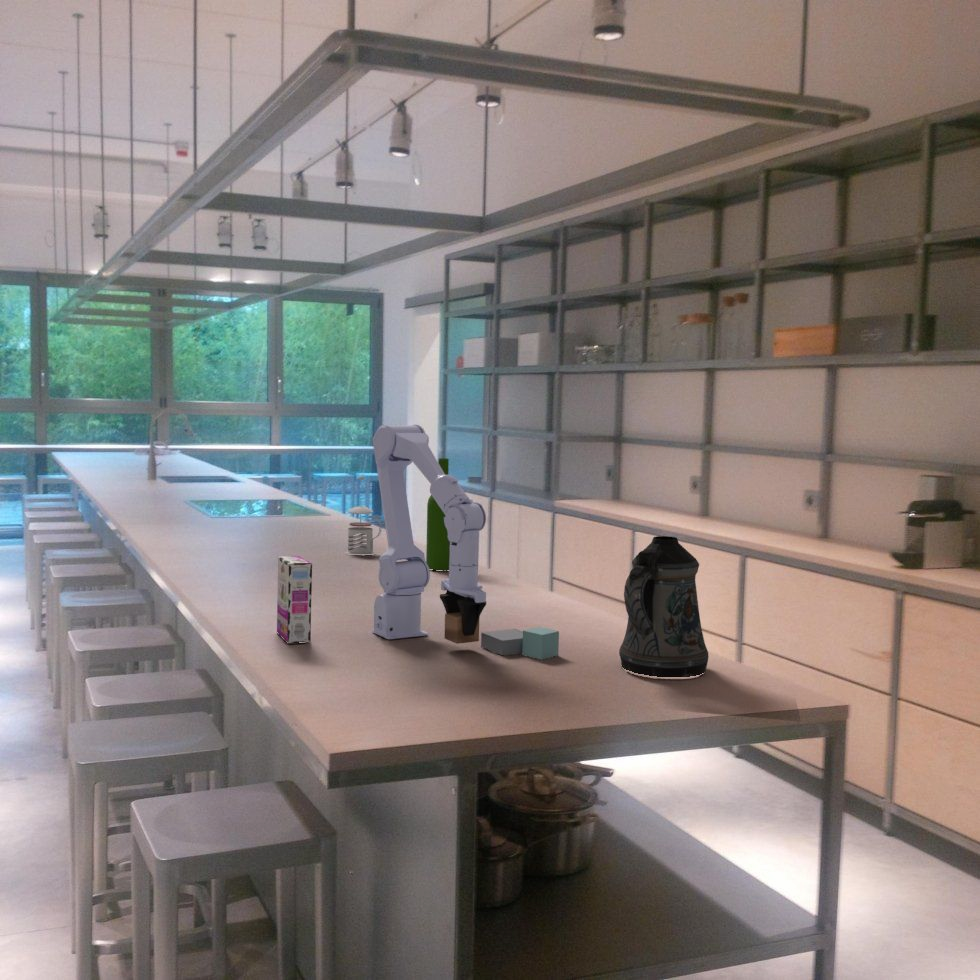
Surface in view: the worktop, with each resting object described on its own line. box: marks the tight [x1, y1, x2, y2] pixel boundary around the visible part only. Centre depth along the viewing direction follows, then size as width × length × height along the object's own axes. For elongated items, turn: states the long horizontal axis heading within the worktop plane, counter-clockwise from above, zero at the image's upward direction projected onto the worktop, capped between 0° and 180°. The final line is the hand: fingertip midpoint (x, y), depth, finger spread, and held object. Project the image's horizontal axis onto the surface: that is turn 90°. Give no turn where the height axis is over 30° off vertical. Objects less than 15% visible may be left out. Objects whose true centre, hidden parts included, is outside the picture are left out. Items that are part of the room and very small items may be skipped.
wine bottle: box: [425, 457, 450, 570], centre depth 304 cm, size 9×9×32 cm
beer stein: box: [618, 535, 709, 677], centre depth 193 cm, size 16×19×25 cm
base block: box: [480, 628, 523, 656], centre depth 208 cm, size 8×8×3 cm
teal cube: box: [521, 626, 560, 660], centre depth 203 cm, size 5×5×5 cm
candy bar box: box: [276, 555, 313, 643], centre depth 212 cm, size 11×5×16 cm, turn 23°
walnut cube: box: [444, 612, 481, 644], centre depth 206 cm, size 5×5×5 cm
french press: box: [345, 475, 383, 554], centre depth 330 cm, size 10×12×25 cm
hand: (461, 632), depth 206 cm, fingers closed on walnut cube, 5 cm apart
